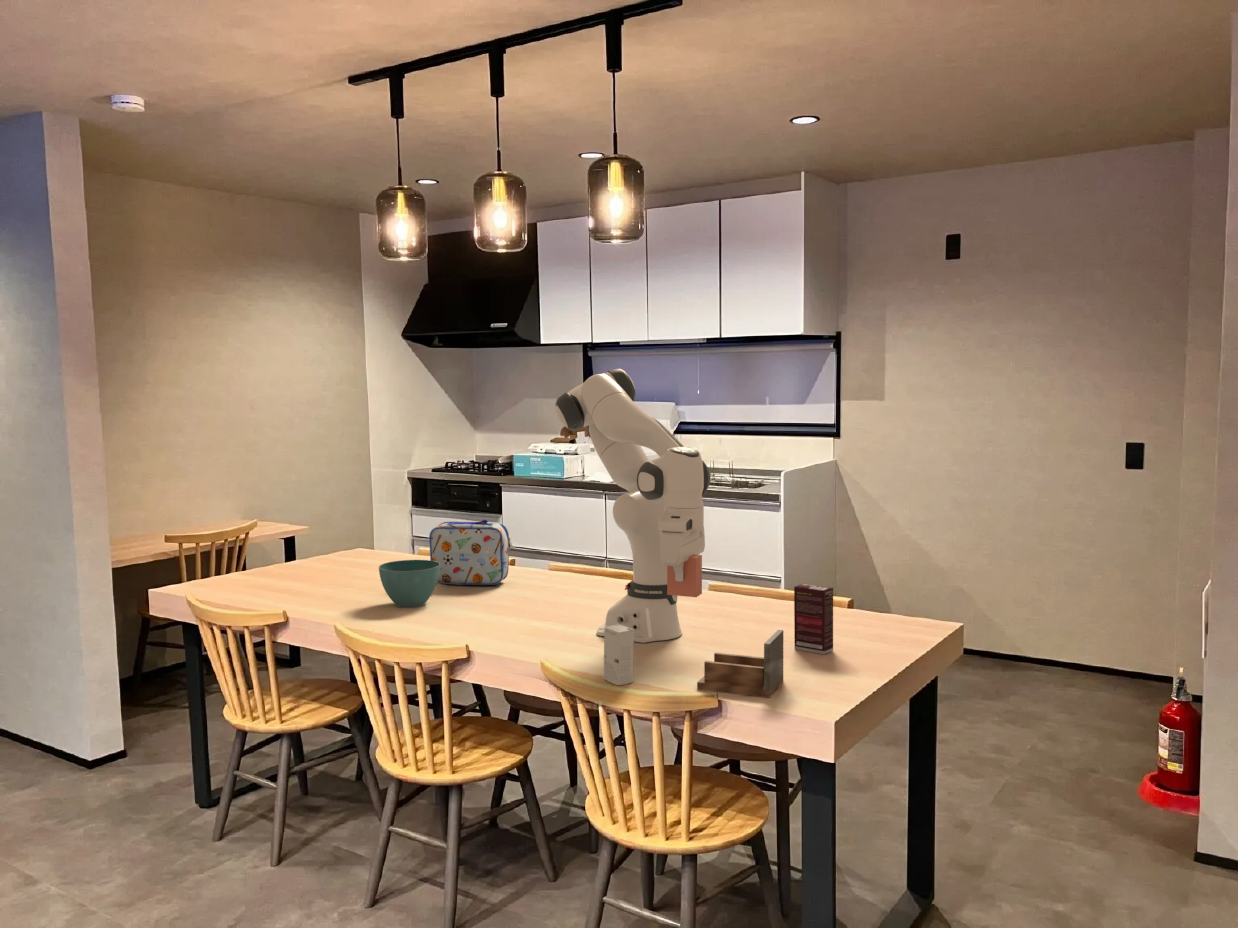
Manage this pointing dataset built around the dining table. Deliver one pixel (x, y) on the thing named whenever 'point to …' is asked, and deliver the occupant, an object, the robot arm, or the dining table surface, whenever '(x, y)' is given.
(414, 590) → the green bowl
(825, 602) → the supplement box
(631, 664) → the skincare box
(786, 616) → the dining table surface
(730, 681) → the book rack
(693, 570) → the red book
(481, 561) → the lunch box
